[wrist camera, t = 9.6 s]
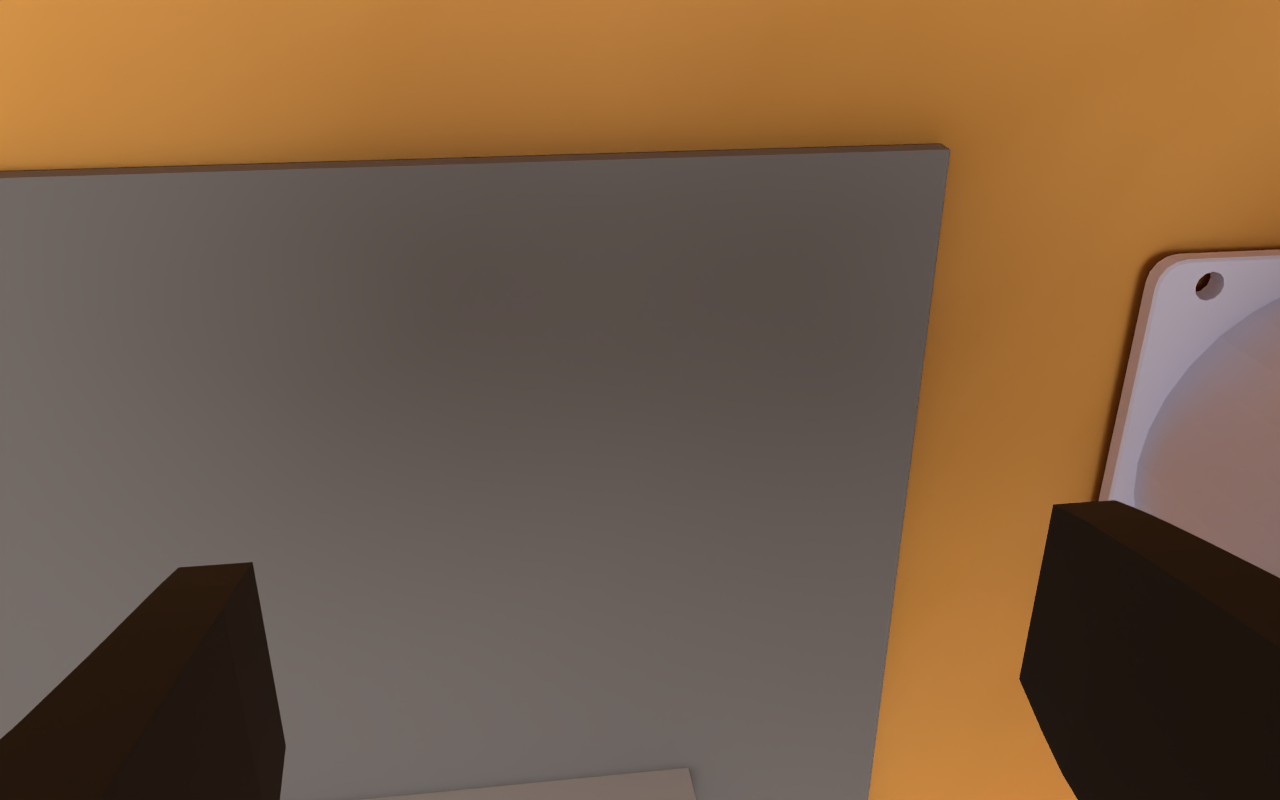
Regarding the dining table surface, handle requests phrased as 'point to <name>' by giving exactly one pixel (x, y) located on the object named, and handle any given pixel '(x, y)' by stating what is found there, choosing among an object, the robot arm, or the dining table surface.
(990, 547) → the dining table surface
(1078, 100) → the dining table surface
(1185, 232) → the dining table surface
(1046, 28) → the dining table surface
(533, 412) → the mat
